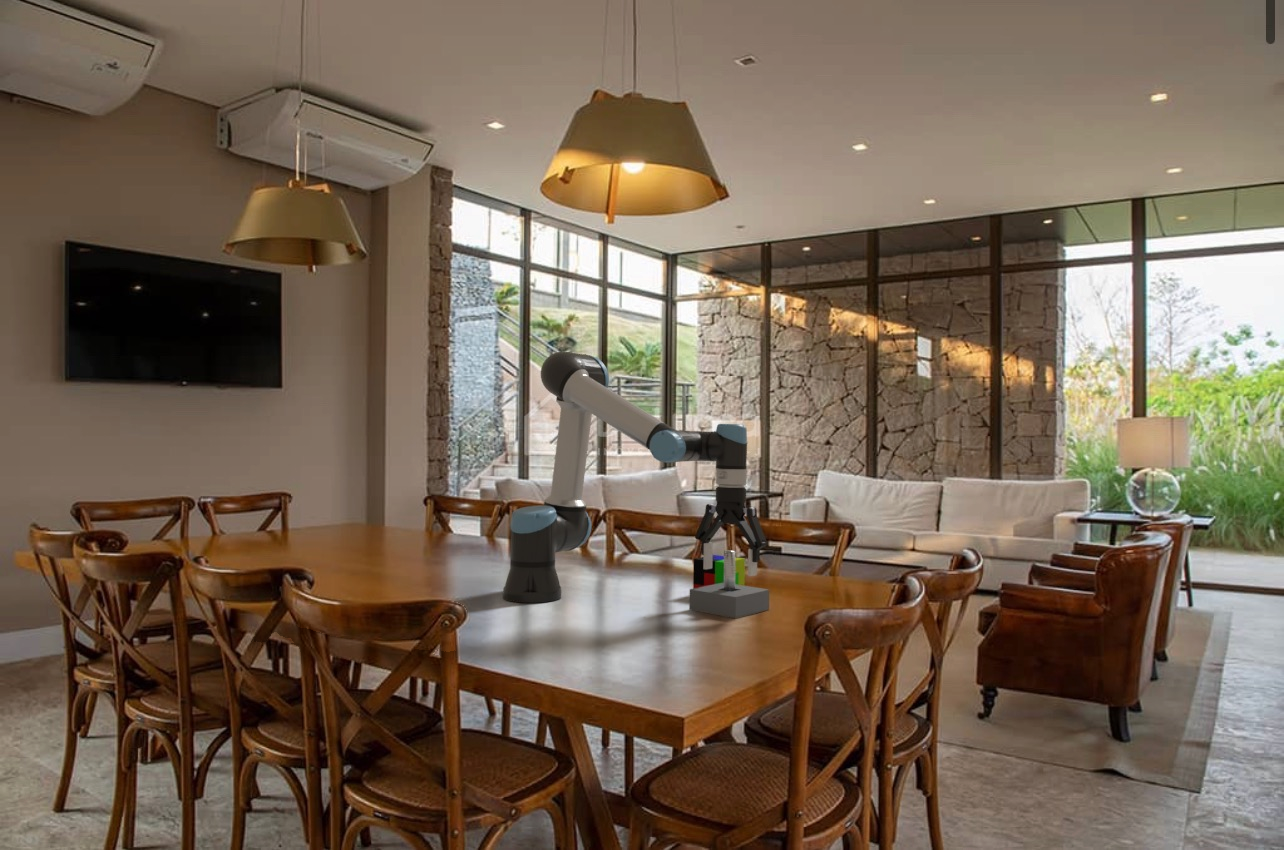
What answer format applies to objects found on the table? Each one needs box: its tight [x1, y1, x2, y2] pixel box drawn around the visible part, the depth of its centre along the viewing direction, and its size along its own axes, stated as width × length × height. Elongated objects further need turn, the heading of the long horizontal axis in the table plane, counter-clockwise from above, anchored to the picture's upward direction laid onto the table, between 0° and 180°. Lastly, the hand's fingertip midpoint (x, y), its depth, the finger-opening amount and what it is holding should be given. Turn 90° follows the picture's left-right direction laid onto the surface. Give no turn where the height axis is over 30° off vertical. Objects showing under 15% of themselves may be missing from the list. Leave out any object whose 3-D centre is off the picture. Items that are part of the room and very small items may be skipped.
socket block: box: [689, 583, 770, 619], centre depth 214 cm, size 14×14×5 cm
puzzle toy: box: [692, 554, 746, 589], centre depth 232 cm, size 10×10×10 cm
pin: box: [723, 549, 736, 592], centre depth 214 cm, size 3×3×13 cm
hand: (729, 572), depth 214 cm, fingers open, 13 cm apart
